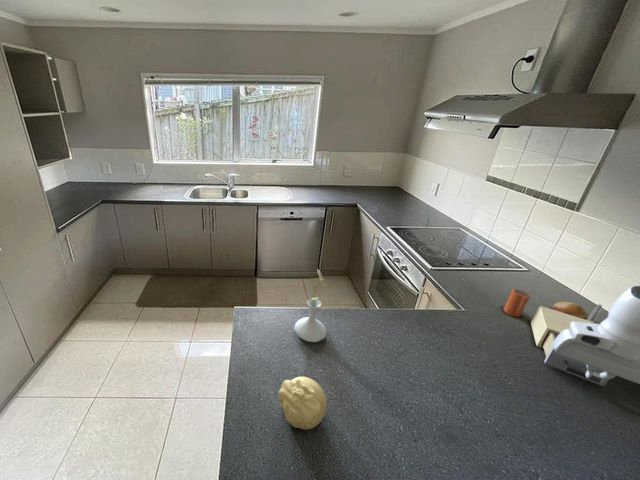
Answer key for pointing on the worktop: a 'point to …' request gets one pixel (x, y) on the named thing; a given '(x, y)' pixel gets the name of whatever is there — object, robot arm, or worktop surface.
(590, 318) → the screw
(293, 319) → the worktop surface
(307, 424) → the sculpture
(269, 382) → the worktop surface
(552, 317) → the box
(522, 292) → the cup
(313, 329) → the flower in vase
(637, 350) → the robot arm
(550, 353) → the drawer
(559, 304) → the bread roll
